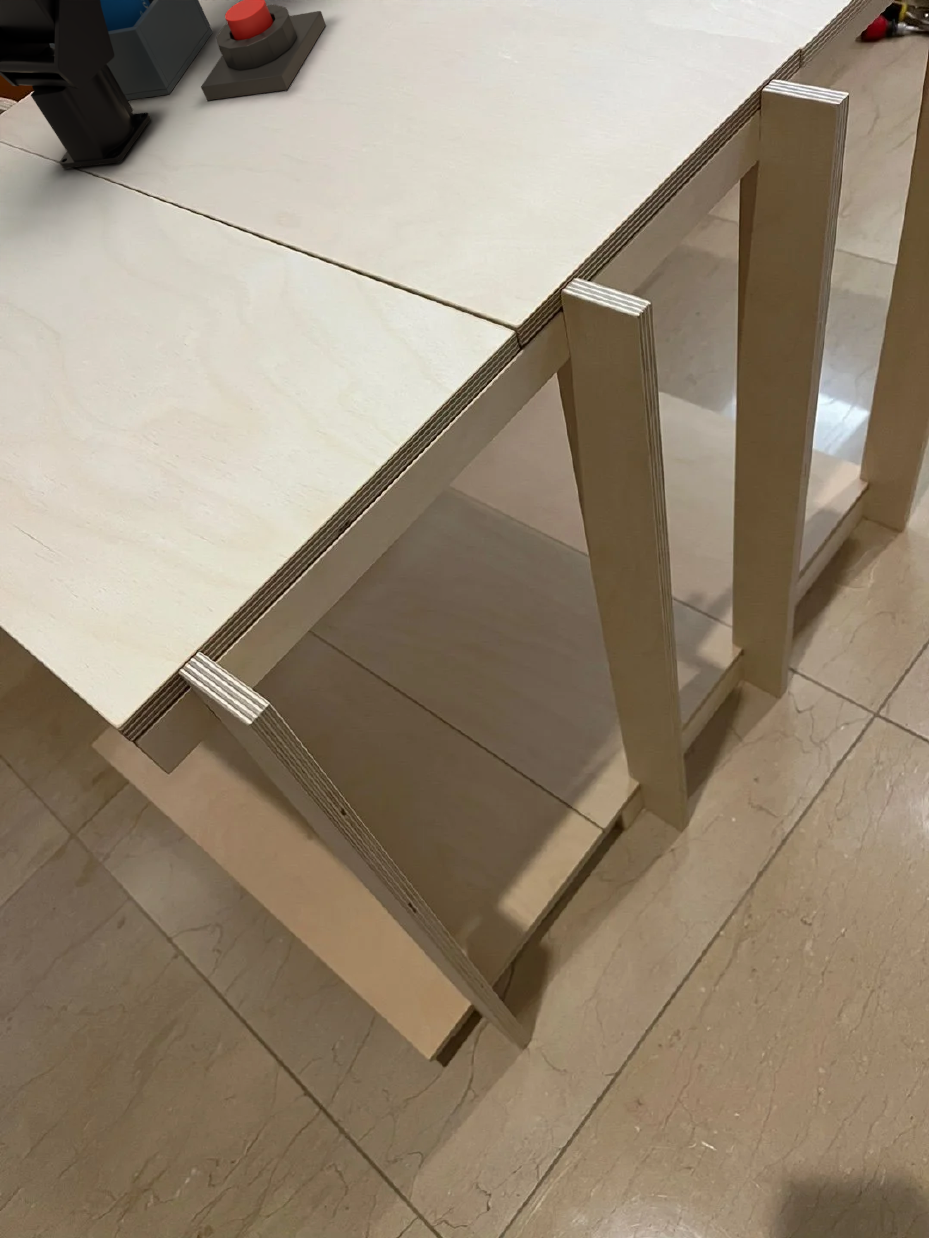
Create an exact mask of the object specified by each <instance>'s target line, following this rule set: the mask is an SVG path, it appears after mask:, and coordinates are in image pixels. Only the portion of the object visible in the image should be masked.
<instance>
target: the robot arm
mask: <svg viewBox="0 0 929 1238" xmlns="http://www.w3.org/2000/svg"><path fill="white" fill-rule="evenodd" d="M50 44H55V48H51V47H50ZM113 58H114V51H113V47H112V44H111V40H110V37H109V33H108V29H107V26H106V22H105V18H104V15H103V11H102V8H101V2H100V0H0V76H1V77H2V78H3V79H5V81H7V83H9V84H10V85H11V86H13V87H20V86H31V87H32V88H31V89H32V90H33V92H32V93H31V94H30V97H31V98H32V101H34V103H35V105H36V106H37V107H38V109H39V111H40V112H41V114H42V115H43V117H44V118H45V120H46V121H47V123H48V125H49V126H50V128H51V129H52V131H53V132H54V134H55V135H56V137H57V138H58V140H59V142H60V143H61V144H62V146H63V148H64V149H65V151H66V152H65V154H64V155H62V158H61V159H60V160H59V165H60V166H61V168H62V169H71V168H81V167H89V166H90V167H91V166H98V165H108V164H117V163H119V162H121V161H123V159H124V158H125V157H126V155H127V154H128V152H129V151H130V149H131V148H132V147H133V145H134V144H135V142H136V141H137V140H138V138H139V136H140V135H141V134H142V133H143V131H144V130H145V128H146V127H147V125H148V124H149V122H150V121H151V119H152V118H151V115H150V114H149V113H148V112H138V113H133V112H134V109H133V107H132V106H131V104H130V101H129V100H127V98H126V97H125V95H124V93H123V91H122V90H121V88H120V86H119V84H118V82H117V81H116V79H115V77H114V75H113V74H112V72H111V70H110V68H109V67H108V65H107V63H108V62H110V61H111V60H112V59H113Z"/></svg>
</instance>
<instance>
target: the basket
mask: <svg viewBox="0 0 929 1238" xmlns="http://www.w3.org/2000/svg"><path fill="white" fill-rule="evenodd" d="M149 2H150V6H149V7H148V8H147V9H146V11H145V12H144V13H143V15H142V16H141V17H140V18H139V20H138V21H137V22H136V24H135V25H134V26H133V27H130V28H124V29H118V30H113V31H108V33H109V37H110V40H111V44H112V47H113V51H114V58H113V59H112V60H111V61H110V62H108V63H107V65H108V67H109V68H110V70H111V72H112V74H113V75H114V77H115V79H116V81H117V82H118V84H119V86H120V88H121V90H122V91H123V93H124V95H125V97H126V98H127V100H128V101H131V100H137V99H146V98H152V97H160V96H167V95H170V94H171V92H172V91H173V90H174V88H175V87H176V86H177V84H178V83H179V81H180V80H181V78H182V77H183V75H184V74H185V73H186V71H187V70H188V68H189V67H190V65H191V64H192V63H193V61H194V59H196V57H197V56H198V54H199V52H200V51H201V49H202V48H203V47H204V45H205V44H206V42H207V41H208V40H209V38H210V37H211V36H212V34H213V33H214V31H213V29H212V26H211V24H210V22H209V20H208V18H207V16H206V13H205V11H204V9H203V7H202V5H201V3H200V0H149ZM50 47H51V48H55V44H50Z"/></svg>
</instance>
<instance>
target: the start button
mask: <svg viewBox="0 0 929 1238" xmlns="http://www.w3.org/2000/svg"><path fill="white" fill-rule="evenodd" d="M224 18H225V21H226V24H228V25H229V28H230V30H231V32H232V34H233V37H234V39H235V40H236V41H238V40H245V39H250V38H252V37H254V36H257V35H259V34H261V33H263V32H264V31H266V30H267V29H268V28H270V27H271V25H272V24H273V20H272V17H271V15H270V12H269V10H268V7H267V3H266V1H265V0H241V1H238V2H237V3H235V4H234V5H232V6H230V8H229V9H227V11H226V13H225V16H224Z"/></svg>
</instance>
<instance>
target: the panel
mask: <svg viewBox="0 0 929 1238" xmlns="http://www.w3.org/2000/svg"><path fill="white" fill-rule="evenodd" d="M266 5H267V4H266ZM267 7H268V10H269V12H270V15H271V17H272V20H273V24H272V25H271V27H270V28H268V29H267V30H266V31H264V32H263V33H261V34H259V35H257V36H254V37H252V38H250V39H245V40H238V41H236V40H235V39H234V37H233V34H232V32H231V30H230V28H229V25H228V23H226V24H225V25H223V27H222V28H221V30H220V31H219V33H218V34H217V36H216V37H215V39H216V43H217V47H218V49H219V51H220V54H221V56H220V57H219V59H218V60H217V62H216V63H215V65H214V67H213V68H212V70H211V71H210V73H209V74H208V75H207V77H206V78H205V80H204V81H203V83H202V85H201V86H200V88H201V91H202V93H203V95H204V97H205V99H206V100H207V101H213V100H221V99H227V98H235V97H244V96H251V95H258V94H265V93H272V92H280V91H286V90H288V88H289V87H290V85H291V84H292V82H293V81H294V79H295V77H296V76H297V74H298V72H299V70H300V69H301V67H302V65H303V64H304V62H305V61H306V59H307V57H308V56H309V54H310V52H311V50H312V49H313V47H314V46H315V43H316V42H317V40H318V38H319V37H320V35H321V33H322V32H323V30H324V28H325V27H326V21H325V18H324V15H323V13H322V11H321V10H316V11H311V12H305V13H299V14H292V15H290V13H289V11H288V8H287V7H286V6H283V5H278V4H268V5H267Z"/></svg>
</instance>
